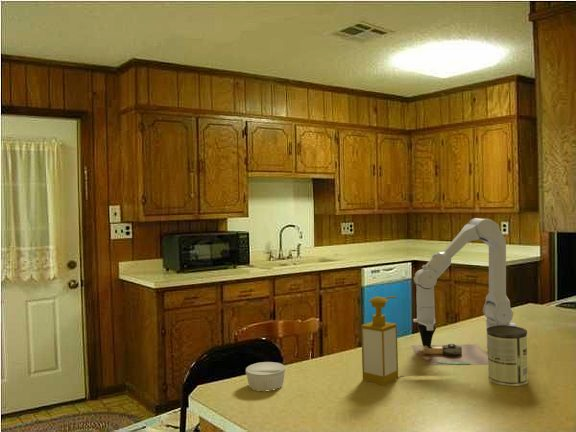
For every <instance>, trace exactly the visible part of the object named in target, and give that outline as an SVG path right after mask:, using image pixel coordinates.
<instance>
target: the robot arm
mask: <svg viewBox="0 0 576 432" xmlns="http://www.w3.org/2000/svg"><path fill="white" fill-rule="evenodd" d="M477 240H481V241H482V242H483V243H484V244H486V245H487V246H488V294H487V295H486V296H485V303H484V305H483V307H482V312H483V315H484V316H485V317H486V321H485V322H486V323H485V324H486V326H485V327H486V329H487V328H489V327H492V326H515V327H518V326H517V324H516V323H515V322H511V321H512V320H513V317H514V312H513V310H512V307H511V301H510V298H508V296H507V241H506V238H505V236H504V235H503V233H502V231H501V230H500V224H498V223H497V222H495V221H494V220H492V219H490V218H479V217H474V218H472V219H470V220H469V221H468V223H466V224H465V225H464V226H463V228H462V229H461V230H460V231H459V233H458V234H457V235H456V236H455V237H454V238H453V240H452V241H451V242H450V243H449V244H448V245H447V246H446V248H444V250H443V251H437V252H436V253H433V254H432V255H431V259H430V260H429V261H428V262H427V263H426V264H423V265H422V266H421V268H422V269H419V270H417V271H415V273H414V276H413V282H414V284H415V285H416V288H415V289H416V293H415V295H416V297H415V298H416V318H413V319H412V321H413V323H418V324H417V325H416V327H417V330H418V332H419V335H420V339H421V343H422V345H427V347H430V346H431V345H432V340H433V336H434V334H435V331H436V330H437V327H436V326H435V324H436V317H435V316H436V311H435V310H436V309H435V307H436V306H435V286H436V285H437V283H438V282H437V280H438V278H440V277H441V275H442V274H443V273H444V272H445V271H446V270H447V269H448V268H449V267H450V265H452V258H453V257H454V256H455V255H456V254H457V253H459V252H460V250H462V249H463V248H464V247H465V245H467V244H468V243H469V242H473V241H477ZM486 347H487V348H488V337H487V336H486Z"/></svg>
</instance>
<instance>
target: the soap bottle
mask: <svg viewBox="0 0 576 432" xmlns="http://www.w3.org/2000/svg"><path fill="white" fill-rule="evenodd" d="M388 299H397V297H396V296H385V297H383V296H374V297H372V298H370V299H369V300H368V302H369V303H370V304H371V308H375V313H374V314H372V317H371V318H372V321H370V322H367V323H365V324H364V323H363V324H361V325H360V326H361V328H360V331H361V365H362V369H361V370H362V381H365V380H366V382H369V381H370V382H371V383H373V382H374V383H373V384H377V385H382V386H385V385H388V384H390V383H391V382H394V381H396V380H398V379H399V359H398V357H399V355H398V326H397V323H393V322H388V321H386V314H382V308H386V303H388V302H389V300H388Z"/></svg>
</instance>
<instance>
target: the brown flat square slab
mask: <svg viewBox="0 0 576 432" xmlns="http://www.w3.org/2000/svg"><path fill="white" fill-rule="evenodd" d="M444 345H445V344H431V346H430V347H442V346H444ZM456 345H457V346H460V347H462V355H460V356H447V355H444V354H424V353H423V345H421V344H417V345H415V344H413V345H411V347H412V348H413V350H414V353H415V354H416V355H417V357H418V358H419V360H420V362H421V364H422V365H423V366H468V365H469V366H471V365H472V366H473V365H474V366H475V365H476V366H479V365H481V366H482V365H485V366H486V365H487V366H488V352H486V351H485V350H484V349H483V348H482V347H481V346H480V345H479V344H477V343H476V344H474V343H473V344H471V343H470V344H456Z"/></svg>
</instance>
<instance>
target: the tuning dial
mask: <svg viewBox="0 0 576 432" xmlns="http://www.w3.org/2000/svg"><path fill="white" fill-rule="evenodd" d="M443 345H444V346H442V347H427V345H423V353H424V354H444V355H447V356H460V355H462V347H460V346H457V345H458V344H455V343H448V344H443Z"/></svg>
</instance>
